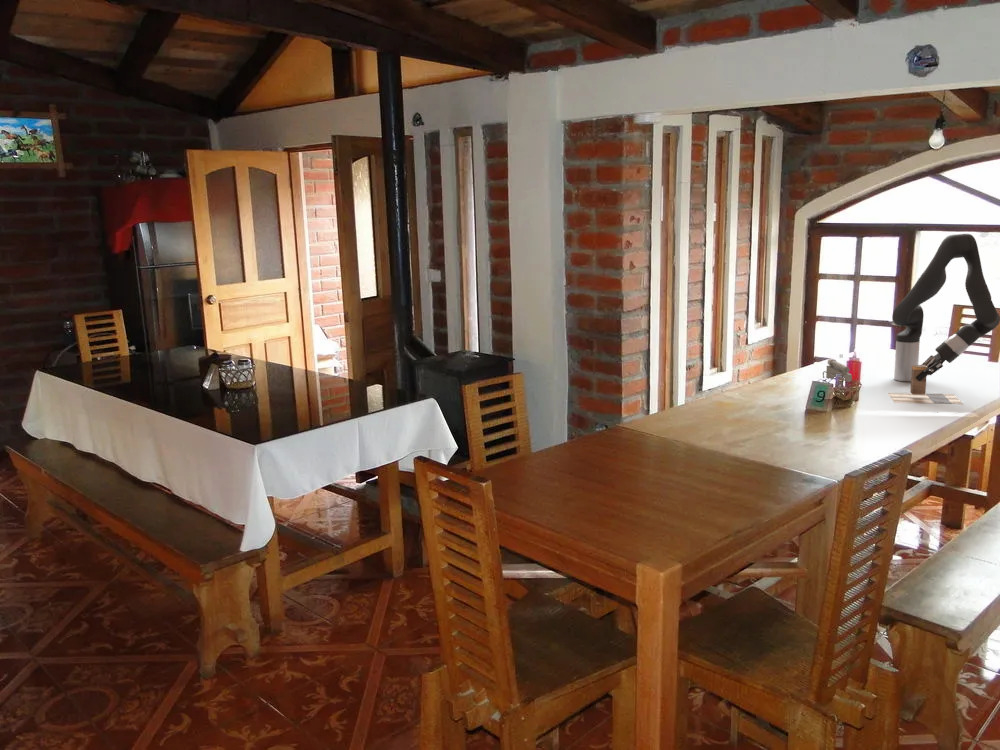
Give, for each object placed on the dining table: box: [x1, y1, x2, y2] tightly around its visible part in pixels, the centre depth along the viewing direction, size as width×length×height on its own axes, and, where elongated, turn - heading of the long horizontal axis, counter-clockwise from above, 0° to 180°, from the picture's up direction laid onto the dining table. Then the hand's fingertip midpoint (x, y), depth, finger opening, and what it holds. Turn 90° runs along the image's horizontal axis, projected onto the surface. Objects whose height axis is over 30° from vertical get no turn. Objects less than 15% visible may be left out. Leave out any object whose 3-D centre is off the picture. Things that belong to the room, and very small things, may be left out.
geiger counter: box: [822, 358, 853, 382], centre depth 342 cm, size 14×6×25 cm
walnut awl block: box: [909, 364, 927, 395], centre depth 323 cm, size 5×5×11 cm
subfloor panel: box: [888, 392, 964, 405], centre depth 324 cm, size 16×24×2 cm, turn 73°
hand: (916, 378), depth 323 cm, fingers closed on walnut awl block, 4 cm apart
